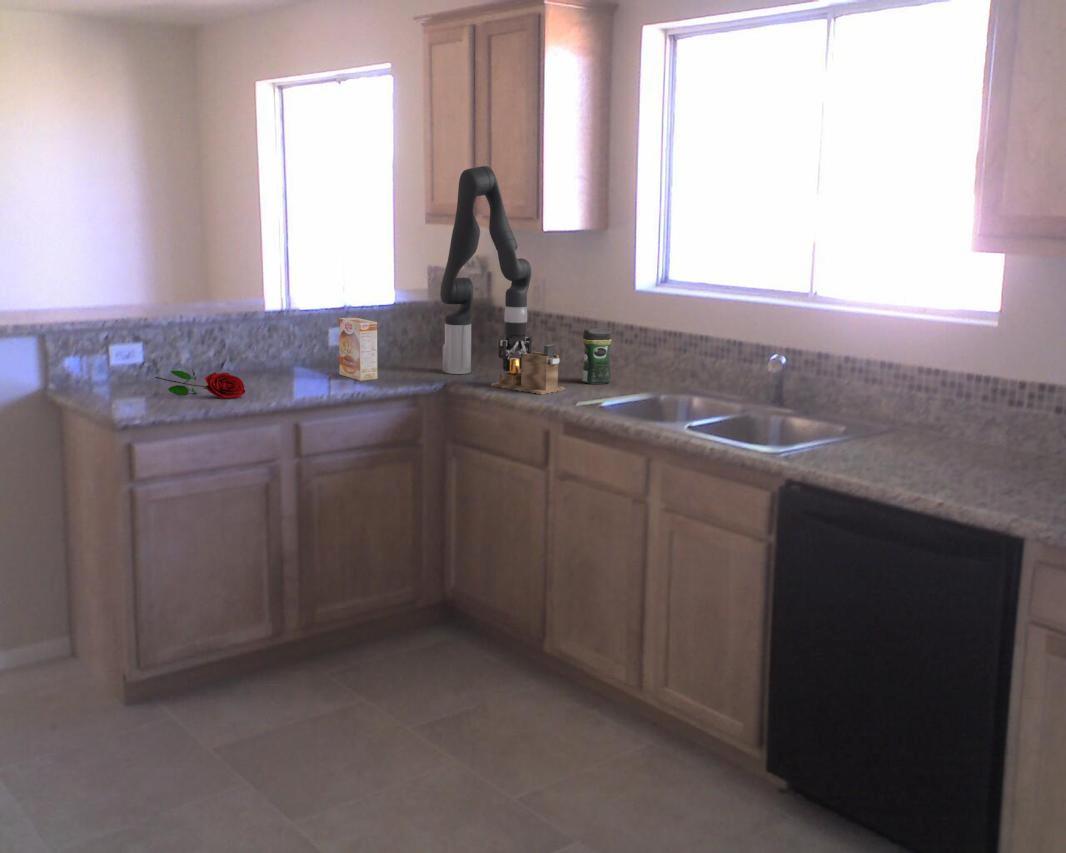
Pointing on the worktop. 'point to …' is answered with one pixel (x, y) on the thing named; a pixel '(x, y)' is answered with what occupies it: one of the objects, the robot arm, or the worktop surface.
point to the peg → (514, 366)
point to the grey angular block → (550, 354)
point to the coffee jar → (596, 356)
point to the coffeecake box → (358, 348)
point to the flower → (211, 385)
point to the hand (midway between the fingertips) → (514, 369)
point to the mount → (533, 375)
